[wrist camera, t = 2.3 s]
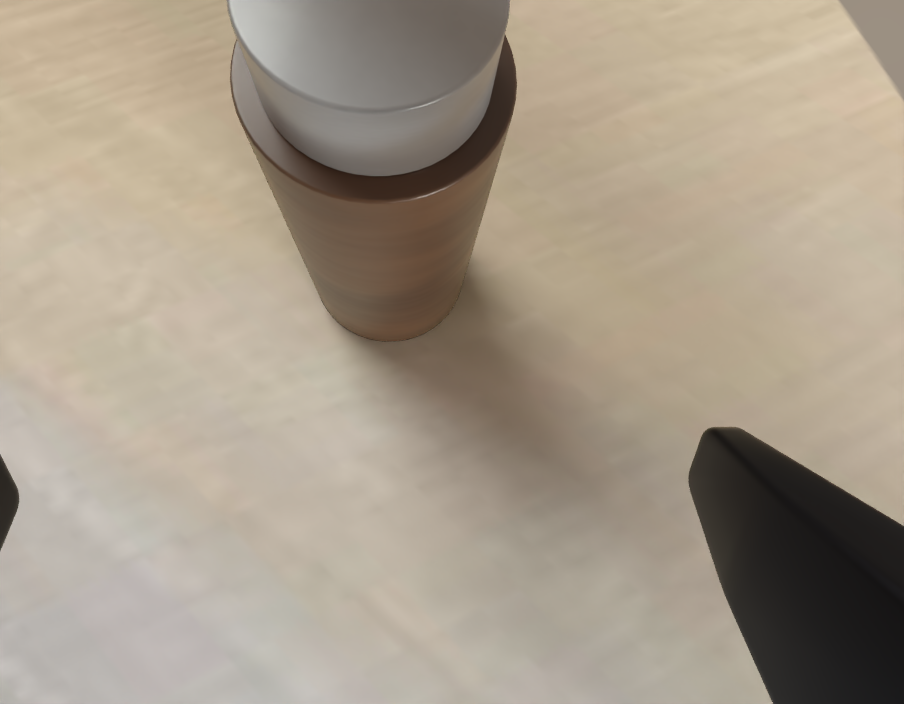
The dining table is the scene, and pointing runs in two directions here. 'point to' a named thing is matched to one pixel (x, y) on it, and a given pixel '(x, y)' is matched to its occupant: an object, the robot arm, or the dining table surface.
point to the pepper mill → (377, 143)
